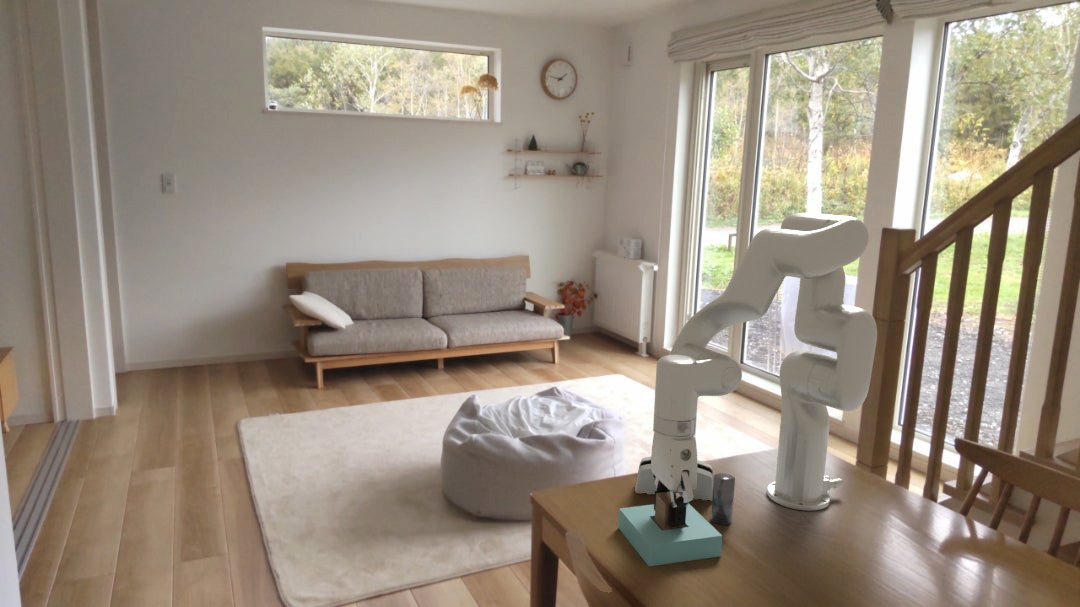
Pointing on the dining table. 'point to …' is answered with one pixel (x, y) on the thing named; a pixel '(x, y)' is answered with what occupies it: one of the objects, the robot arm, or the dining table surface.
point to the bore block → (669, 536)
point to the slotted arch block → (701, 492)
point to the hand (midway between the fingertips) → (669, 516)
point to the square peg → (663, 510)
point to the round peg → (722, 499)
